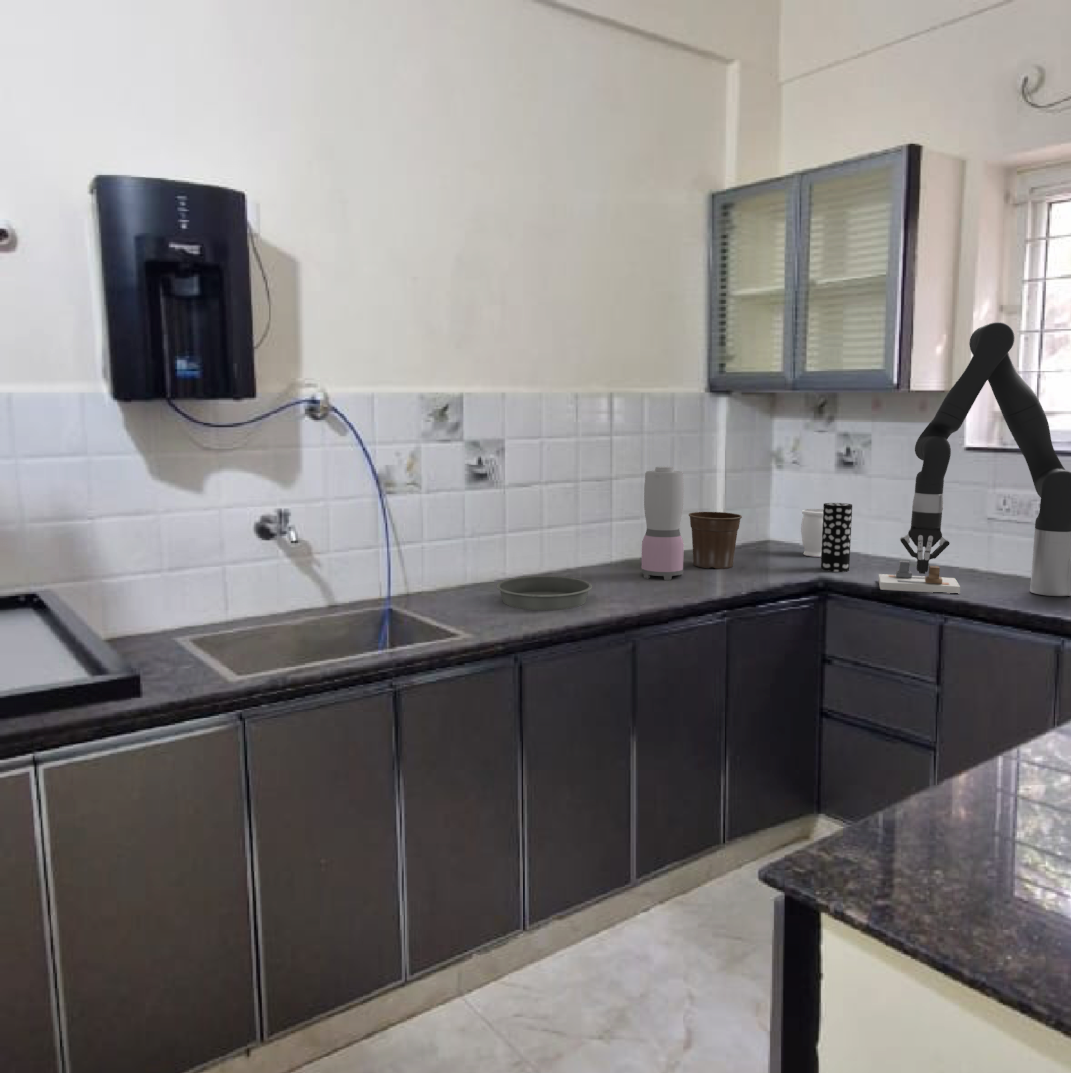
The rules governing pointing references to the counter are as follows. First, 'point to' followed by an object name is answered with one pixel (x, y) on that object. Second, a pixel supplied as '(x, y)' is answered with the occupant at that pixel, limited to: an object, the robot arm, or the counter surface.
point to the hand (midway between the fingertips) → (921, 573)
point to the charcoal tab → (904, 569)
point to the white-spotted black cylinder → (836, 537)
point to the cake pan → (544, 592)
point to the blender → (663, 523)
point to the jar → (812, 532)
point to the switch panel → (917, 584)
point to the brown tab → (933, 575)
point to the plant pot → (714, 538)
